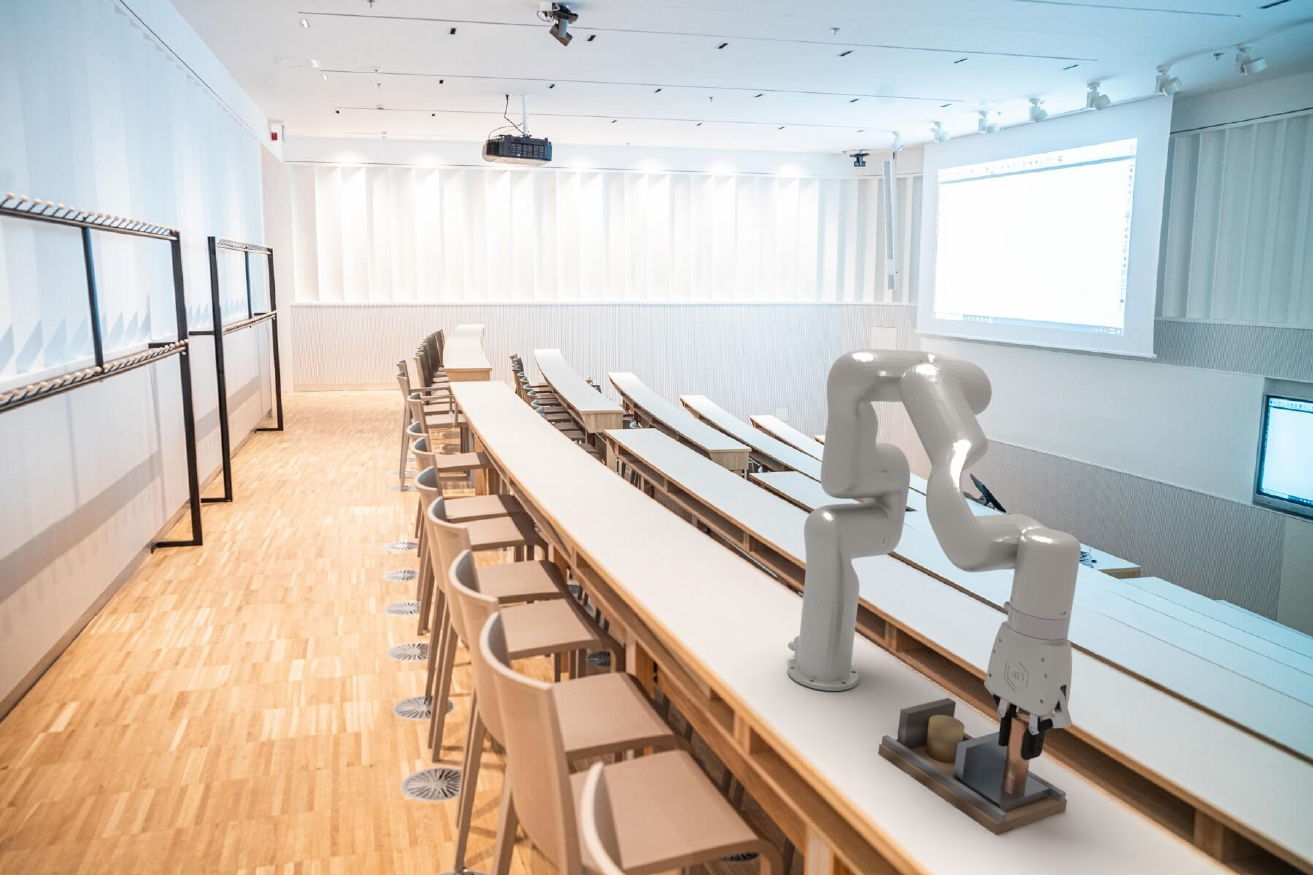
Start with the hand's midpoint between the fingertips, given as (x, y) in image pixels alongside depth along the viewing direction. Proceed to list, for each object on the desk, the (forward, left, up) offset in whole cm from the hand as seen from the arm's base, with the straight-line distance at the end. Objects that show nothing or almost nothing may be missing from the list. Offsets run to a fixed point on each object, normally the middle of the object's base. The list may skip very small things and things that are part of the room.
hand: (1019, 749), depth 124 cm
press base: (-9, 0, -9) cm, 12 cm away
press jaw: (-2, 0, -7) cm, 7 cm away
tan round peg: (-13, 0, -7) cm, 14 cm away
